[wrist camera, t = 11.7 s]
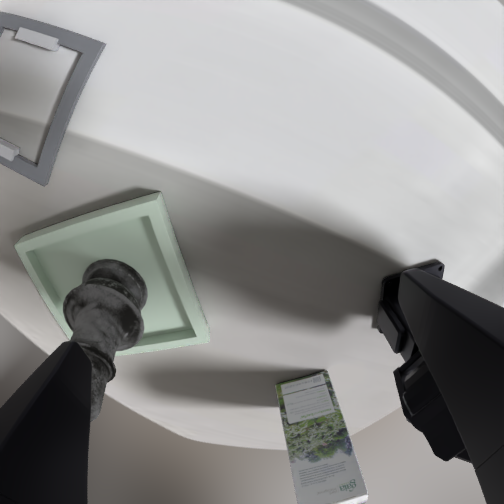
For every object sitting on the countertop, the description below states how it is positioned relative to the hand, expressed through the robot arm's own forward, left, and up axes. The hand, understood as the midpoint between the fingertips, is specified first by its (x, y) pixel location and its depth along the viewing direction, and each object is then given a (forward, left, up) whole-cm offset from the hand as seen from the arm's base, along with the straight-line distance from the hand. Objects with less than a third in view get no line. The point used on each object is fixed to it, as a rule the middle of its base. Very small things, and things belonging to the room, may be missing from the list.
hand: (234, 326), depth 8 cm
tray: (+10, +6, -13) cm, 17 cm away
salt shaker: (+10, +6, -13) cm, 17 cm away
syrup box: (-3, +24, -13) cm, 28 cm away
